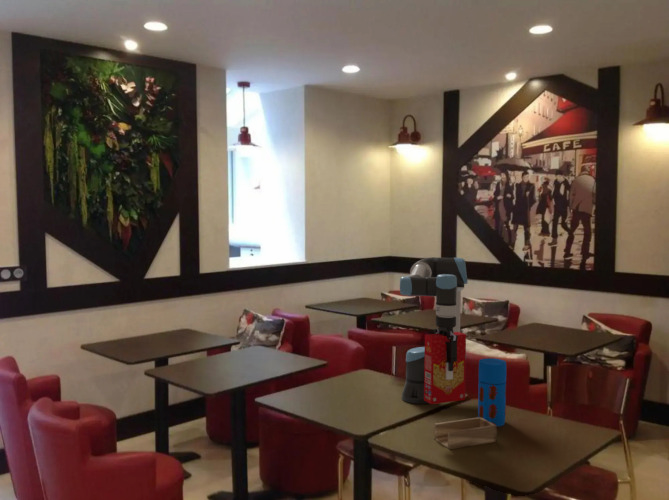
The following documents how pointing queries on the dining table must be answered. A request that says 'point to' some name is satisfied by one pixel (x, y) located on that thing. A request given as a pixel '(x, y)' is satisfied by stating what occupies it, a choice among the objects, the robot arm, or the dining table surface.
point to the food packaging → (443, 370)
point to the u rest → (465, 432)
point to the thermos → (492, 390)
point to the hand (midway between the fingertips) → (445, 376)
